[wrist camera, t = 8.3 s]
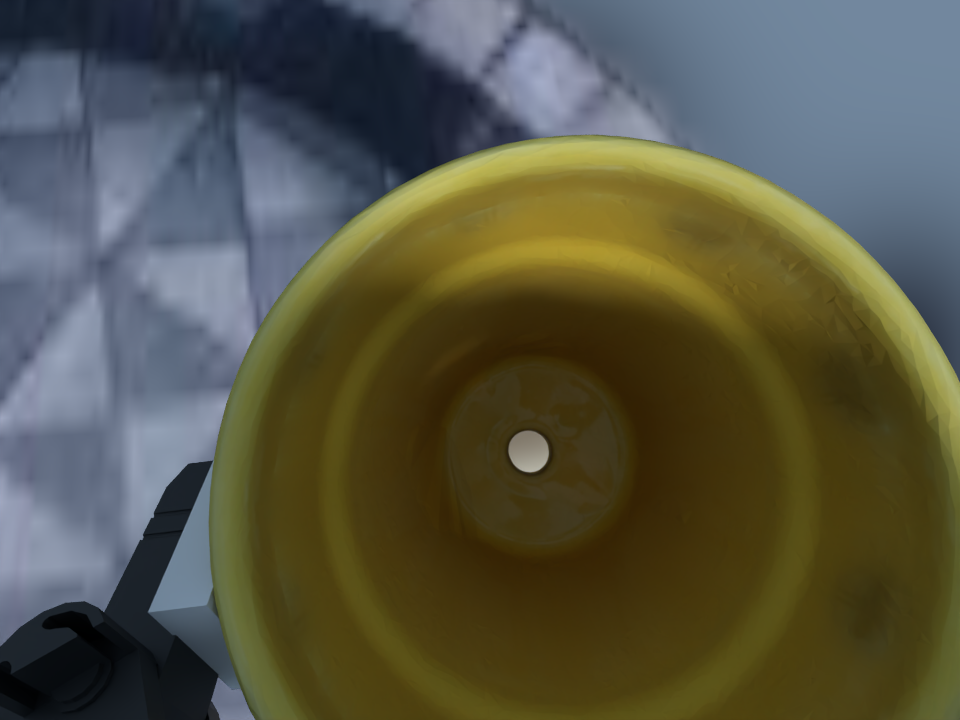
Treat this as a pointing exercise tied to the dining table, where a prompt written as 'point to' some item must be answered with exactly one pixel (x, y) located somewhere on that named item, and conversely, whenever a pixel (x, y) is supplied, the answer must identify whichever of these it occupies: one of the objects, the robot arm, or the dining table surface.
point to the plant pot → (591, 458)
